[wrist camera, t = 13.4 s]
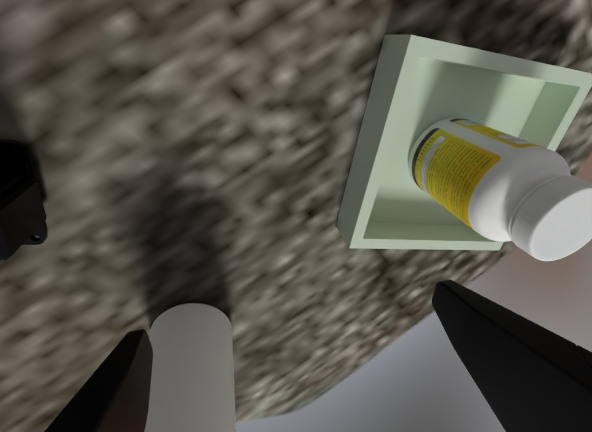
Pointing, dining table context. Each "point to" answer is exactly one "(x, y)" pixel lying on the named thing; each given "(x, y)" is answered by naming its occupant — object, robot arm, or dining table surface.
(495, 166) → the supplement bottle
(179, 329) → the can
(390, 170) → the tray
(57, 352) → the dining table surface
